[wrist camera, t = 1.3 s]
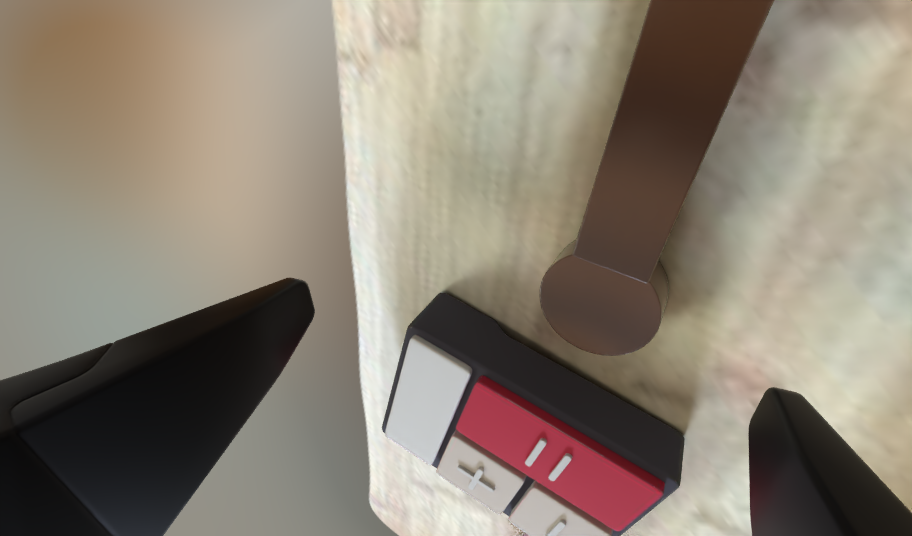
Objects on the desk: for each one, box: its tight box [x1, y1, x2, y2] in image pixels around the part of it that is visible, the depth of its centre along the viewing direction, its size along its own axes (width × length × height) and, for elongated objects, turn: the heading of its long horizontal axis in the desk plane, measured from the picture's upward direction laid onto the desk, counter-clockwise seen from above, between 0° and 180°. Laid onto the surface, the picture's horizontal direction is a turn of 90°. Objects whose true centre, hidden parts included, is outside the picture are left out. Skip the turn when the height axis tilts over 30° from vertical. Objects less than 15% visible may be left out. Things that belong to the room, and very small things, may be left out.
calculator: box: [382, 293, 684, 536], centre depth 26 cm, size 11×4×15 cm
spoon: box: [540, 0, 774, 356], centre depth 16 cm, size 17×5×3 cm, turn 173°
